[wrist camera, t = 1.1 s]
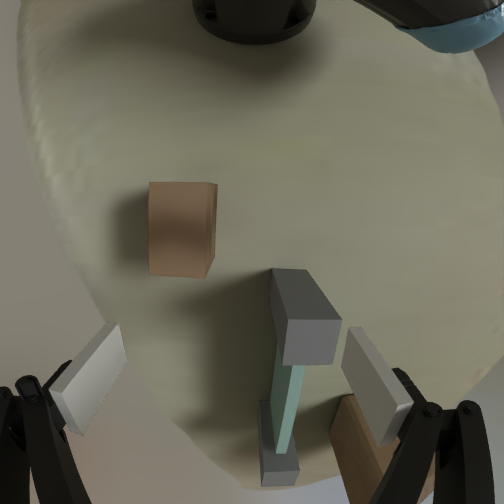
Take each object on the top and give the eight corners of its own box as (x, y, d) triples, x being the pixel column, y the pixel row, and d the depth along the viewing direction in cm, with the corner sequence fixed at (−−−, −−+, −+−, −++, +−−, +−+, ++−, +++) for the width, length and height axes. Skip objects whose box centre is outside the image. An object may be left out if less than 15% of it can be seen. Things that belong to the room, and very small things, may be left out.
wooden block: (326, 434, 38) (354, 529, 19) (340, 393, 36) (384, 499, 17) (377, 426, 39) (417, 508, 19) (395, 386, 37) (452, 473, 17)
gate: (280, 305, 32) (293, 351, 22) (292, 305, 32) (309, 351, 22) (269, 400, 35) (274, 453, 26) (278, 400, 36) (286, 453, 26)
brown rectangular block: (173, 183, 29) (149, 182, 22) (217, 184, 30) (207, 182, 22) (171, 254, 31) (149, 274, 23) (214, 256, 31) (204, 278, 24)
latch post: (259, 400, 36) (264, 472, 23) (287, 400, 36) (299, 470, 23) (257, 418, 37) (261, 486, 24) (283, 418, 37) (294, 485, 24)
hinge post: (272, 268, 32) (288, 319, 19) (306, 269, 32) (341, 319, 19) (269, 301, 33) (282, 365, 20) (302, 302, 33) (332, 364, 20)
